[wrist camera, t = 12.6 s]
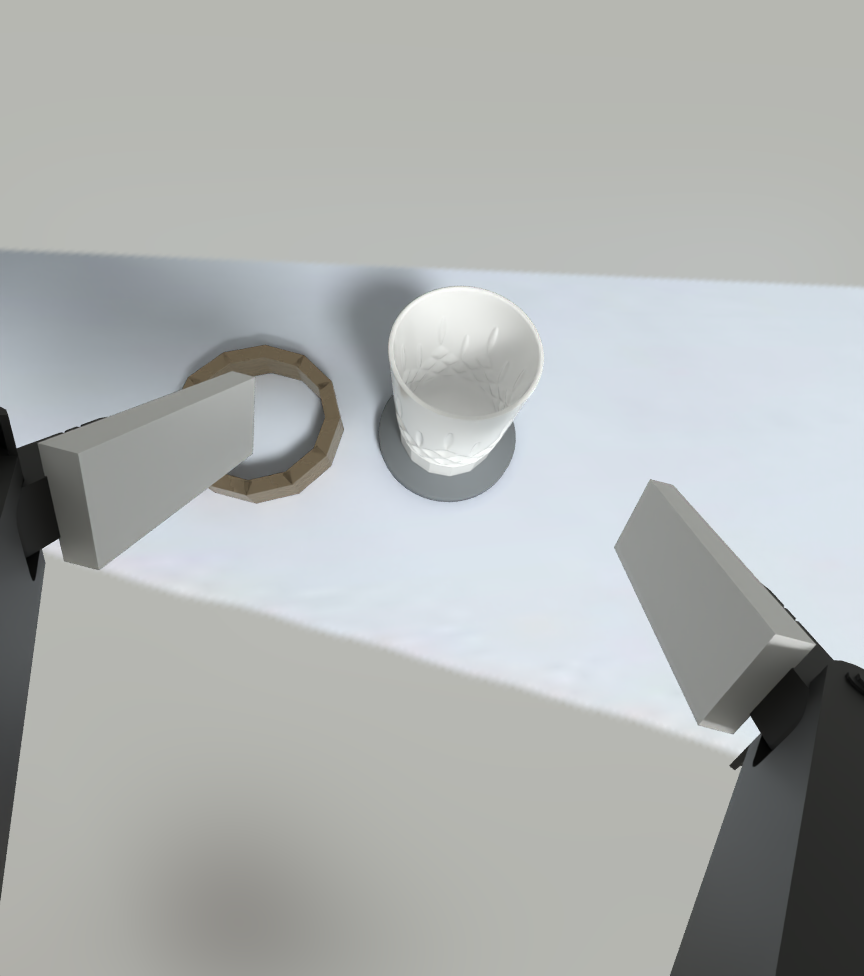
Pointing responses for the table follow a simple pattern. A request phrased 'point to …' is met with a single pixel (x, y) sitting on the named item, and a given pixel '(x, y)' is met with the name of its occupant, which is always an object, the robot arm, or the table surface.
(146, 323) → the table surface
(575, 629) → the table surface
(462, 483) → the coaster
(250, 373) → the collar
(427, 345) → the white cup
